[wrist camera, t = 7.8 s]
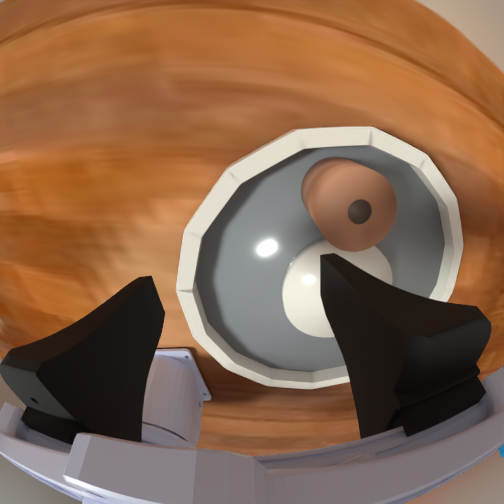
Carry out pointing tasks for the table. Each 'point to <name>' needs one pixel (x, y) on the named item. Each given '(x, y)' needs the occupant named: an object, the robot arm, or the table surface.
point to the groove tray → (286, 231)
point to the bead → (349, 203)
